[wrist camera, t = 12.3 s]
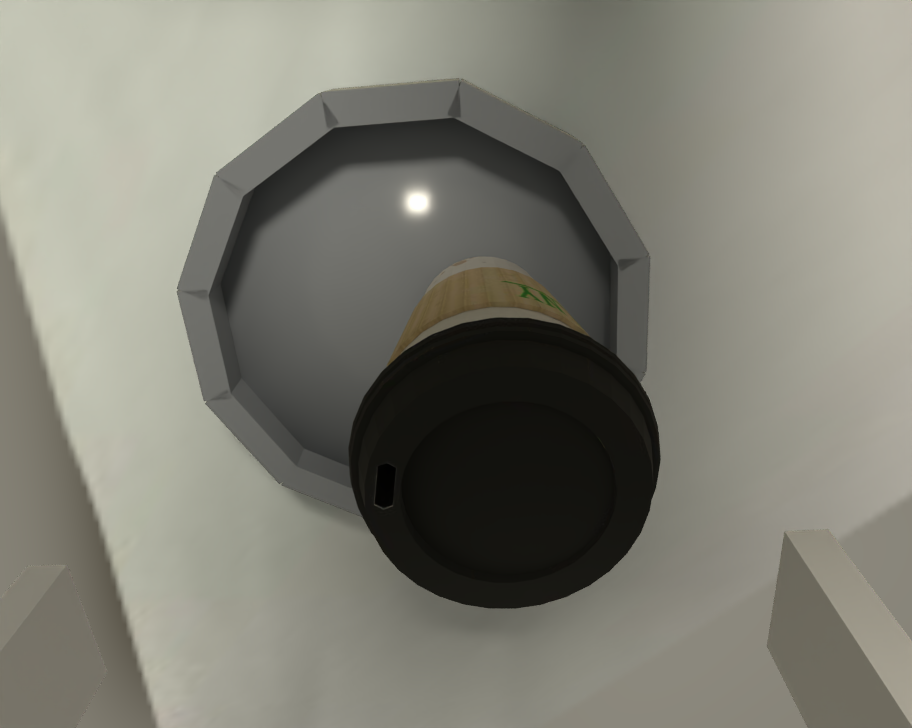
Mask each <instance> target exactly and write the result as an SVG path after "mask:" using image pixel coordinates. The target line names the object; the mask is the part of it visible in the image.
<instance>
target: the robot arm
mask: <svg viewBox="0 0 912 728" xmlns="http://www.w3.org/2000/svg"><path fill="white" fill-rule="evenodd" d="M767 647H768V649H769V651H770V653H771V655H772V657H773V659H774V661H775V663H776V665H777V667H778V669H779V671H780V673H781V675H782V677H783V679H784V681H785V683H786V685H787V687H788V689H789V691H790V693H791V695H792V697H793V699H794V701H795V703H796V705H797V707H798V709H799V711H800V713H801V715H802V717H803V719H804V721H805V723H806V725H807V727H808V728H912V641H911V640H910V638H909V637H908V636H907V634H906V633H905V631H904V630H903V629H902V627H901V626H900V625H899V623H898V622H897V621H896V619H895V618H894V617H893V615H892V614H891V613H890V611H889V610H888V609H887V607H886V606H885V605H884V603H883V602H882V601H881V599H880V598H879V597H878V595H877V594H876V593H875V591H874V590H873V589H872V587H871V586H870V585H869V583H868V582H867V581H866V579H865V578H864V577H863V575H862V574H861V573H860V571H859V570H858V569H857V567H856V566H855V564H854V563H853V562H852V561H851V559H850V558H849V557H848V555H847V554H846V552H845V551H844V550H843V548H842V547H841V546H840V544H839V543H838V542H837V540H836V539H835V538H834V536H833V535H832V534H831V532H830V531H829V530H828V529H825V530H803V531H785V532H784V539H783V545H782V552H781V558H780V565H779V571H778V578H777V584H776V591H775V597H774V603H773V610H772V617H771V623H770V629H769V636H768V642H767ZM106 674H107V670H106V667H105V664H104V662H103V659H102V656H101V654H100V651H99V648H98V646H97V643H96V640H95V637H94V635H93V632H92V630H91V627H90V624H89V621H88V619H87V616H86V613H85V611H84V608H83V605H82V603H81V600H80V597H79V595H78V592H77V589H76V587H75V584H74V582H73V579H72V576H71V573H70V571H69V568H68V565H67V564H65V565H41V566H27V567H26V568H25V569H24V571H23V572H22V573H21V574H20V575H19V576H18V578H17V579H16V580H15V581H14V583H13V584H12V585H11V586H10V587H9V588H8V590H7V591H6V592H5V593H4V594H3V595H2V597H1V598H0V728H76V726H77V725H78V723H79V721H80V720H81V717H82V716H83V714H84V713H85V711H86V709H87V707H88V705H89V704H90V702H91V700H92V699H93V697H94V695H95V693H96V692H97V689H98V688H99V686H100V684H101V683H102V681H103V679H104V677H105V676H106Z"/></svg>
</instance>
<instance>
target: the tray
mask: <svg viewBox="0 0 912 728" xmlns="http://www.w3.org/2000/svg"><path fill="white" fill-rule="evenodd" d="M479 256H481V257H496V258H500V259H505V260H507V261H509V262H512V263H514V264H516V265H518V266H519V267H521V268H522V269H524V270H525V271H526V272H527V273H528V274H529V275H530V276H531V277H532V278H533V279H534V280H535V281H537V282H538V283H539V284H541V285H542V286H544V287H545V288H546V289H547V290H548V291H549V292H550V293H551V295H552V296H553V297H554V298H555V299H556V300H557V301H558V302H559V303H560V304H561V305H562V306H563V307H564V309H565V310H566V311H567V312H568V313H569V314H570V315H571V316H572V317H573V318H574V319H575V321H576V322H577V323H578V324H579V325H580V326H581V327H582V328H583V329H584V330H585V331H586V333H587V334H588V335H589V336H590V337H591V338H593V339H594V340H596V341H597V342H599V343H600V344H602V345H603V346H604V347H606V348H607V349H609V350H610V351H612V352H613V353H615V354H616V355H617V356H618V357H619V358H620V359H621V361H622V362H623V363H624V364H625V365H626V366H627V367H628V368H629V369H630V370H631V371H632V372H633V373H634V374H635V376H636V377H637V379H638V381H639V382H641V380H642V379H643V377H644V376H645V372H646V366H647V335H648V304H649V273H650V256H649V253H648V251H647V249H646V248H645V246H644V244H643V243H642V241H641V239H640V238H639V236H638V234H637V232H636V231H635V229H634V227H633V226H632V224H631V222H630V221H629V219H628V217H627V216H626V214H625V212H624V210H623V209H622V207H621V205H620V204H619V202H618V200H617V199H616V197H615V195H614V194H613V192H612V190H611V188H610V187H609V185H608V183H607V182H606V180H605V178H604V177H603V175H602V173H601V172H600V170H599V168H598V166H597V165H596V163H595V161H594V160H593V158H592V156H591V155H590V153H589V151H588V149H587V148H586V146H585V145H584V144H583V143H582V142H580V141H579V140H578V139H576V138H575V137H574V136H572V135H570V134H568V133H566V132H564V131H562V130H560V129H558V128H556V127H555V126H553V125H551V124H549V123H547V122H545V121H543V120H541V119H539V118H537V117H535V116H533V115H531V114H529V113H527V112H525V111H523V110H522V109H520V108H518V107H516V106H514V105H512V104H510V103H508V102H506V101H504V100H502V99H500V98H498V97H496V96H494V95H492V94H490V93H489V92H487V91H485V90H483V89H481V88H479V87H477V86H475V85H473V84H471V83H469V82H467V81H465V80H463V79H462V80H461V82H460V84H459V78H456V79H444V80H432V81H420V82H408V83H397V84H385V85H373V86H361V87H349V88H338V89H331V90H327V91H323V92H321V93H318V94H317V95H315V96H314V97H313V98H311V99H310V100H309V101H308V102H306V103H305V104H304V105H302V106H301V107H300V108H299V109H297V110H296V111H295V112H293V113H292V114H291V115H290V116H288V117H287V118H286V119H284V120H283V121H282V122H281V123H279V124H278V125H277V126H276V127H274V128H273V129H272V130H270V131H269V132H268V133H267V134H265V135H264V136H263V137H261V138H260V139H259V140H258V141H256V142H255V143H254V144H252V145H251V146H250V147H249V148H247V149H246V150H245V151H243V152H242V153H241V154H240V155H238V156H237V157H236V158H234V159H233V160H232V161H231V162H229V163H228V164H227V165H225V166H224V167H223V168H222V169H220V170H219V171H218V172H216V175H214V177H213V180H212V184H211V187H210V190H209V193H208V196H207V199H206V202H205V205H204V208H203V211H202V214H201V217H200V220H199V223H198V226H197V229H196V232H195V235H194V238H193V241H192V244H191V247H190V250H189V253H188V256H187V259H186V262H185V265H184V268H183V271H182V274H181V278H180V281H179V284H178V287H177V289H178V291H177V295H178V299H179V303H180V307H181V311H182V315H183V319H184V323H185V327H186V331H187V335H188V339H189V343H190V347H191V351H192V355H193V359H194V363H195V367H196V371H197V375H198V379H199V384H200V388H201V392H202V396H203V400H204V401H207V402H206V403H205V404H206V405H207V406H208V407H209V408H210V409H211V410H212V411H213V412H214V414H215V415H216V416H217V417H218V418H219V419H220V420H221V421H222V422H223V423H224V424H225V425H226V427H227V428H228V429H229V430H230V431H231V432H232V433H233V434H234V435H235V436H236V437H237V438H238V440H239V441H240V442H241V443H242V444H243V445H244V446H245V447H246V448H247V449H248V450H249V451H250V453H251V454H252V455H253V456H254V457H255V458H256V459H257V460H258V461H259V462H260V463H261V464H262V466H263V467H264V468H265V469H266V470H267V471H268V472H269V473H270V474H271V475H272V476H273V477H274V479H275V480H276V481H277V482H278V483H279V484H280V483H282V482H283V483H282V486H285V487H287V488H290V489H292V490H295V491H297V492H300V493H302V494H305V495H307V496H310V497H313V498H315V499H318V500H320V501H323V502H325V503H328V504H330V505H333V506H336V507H338V508H341V509H343V510H346V511H348V512H351V513H353V514H356V515H358V516H361V517H362V515H361V513H360V511H359V509H358V507H357V503H356V500H355V496H354V493H353V489H352V486H351V481H350V473H349V453H348V447H349V441H350V436H351V430H352V425H353V420H354V418H355V416H356V413H357V411H358V409H359V406H360V404H361V402H362V399H363V397H364V395H365V394H366V392H367V391H368V390H369V388H370V387H371V385H372V384H373V383H374V381H375V380H376V378H377V377H378V376H379V374H380V373H381V372H382V371H383V370H384V369H385V368H386V366H387V364H388V362H389V360H390V358H391V356H392V354H393V352H394V350H395V348H396V346H397V343H398V341H399V339H400V337H401V335H402V333H403V331H404V329H405V327H406V325H407V323H408V321H409V319H410V317H411V315H412V313H413V311H414V309H415V307H416V306H417V304H418V303H419V302H420V300H421V299H422V297H423V296H424V295H425V292H426V290H427V288H428V287H429V285H430V284H431V283H432V281H433V280H434V278H436V277H437V276H438V275H439V274H440V273H441V272H442V271H443V270H444V269H446V268H448V267H449V266H451V265H452V264H454V263H456V262H459V261H462V260H464V259H467V258H473V257H479Z"/></svg>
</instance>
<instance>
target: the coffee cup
mask: <svg viewBox="0 0 912 728" xmlns="http://www.w3.org/2000/svg"><path fill="white" fill-rule="evenodd" d="M348 453H349V473H350V481H351V486H352V489H353V493H354V496H355V500H356V503H357V507H358V509H359V511H360V513H361V515H362V517H363V519H364V520H365V522H366V524H367V526H368V528H369V530H370V531H371V533H372V534H373V535H374V536H375V538H376V540H377V542H378V544H379V546H380V547H381V549H382V551H383V552H384V554H385V555H386V556H387V557H388V558H389V559H390V561H391V562H392V563H393V564H394V565H395V566H396V568H397V569H398V570H399V571H401V572H402V573H403V574H404V575H406V576H407V577H408V578H409V579H411V580H412V581H413V582H415V583H416V584H417V585H419V586H421V587H423V588H425V589H426V590H428V591H430V592H432V593H434V594H436V595H438V596H440V597H443V598H446V599H449V600H452V601H455V602H458V603H461V604H465V605H471V606H478V607H484V608H521V607H528V606H535V605H541V604H545V603H548V602H551V601H554V600H558V599H561V598H564V597H567V596H569V595H571V594H573V593H575V592H577V591H579V590H581V589H583V588H585V587H587V586H589V585H591V584H592V583H593V582H595V581H596V580H598V579H599V578H600V577H602V576H603V575H605V574H606V573H607V572H609V571H610V570H611V569H612V568H613V567H614V566H615V565H616V564H617V563H618V562H619V561H620V560H621V559H622V558H623V557H624V556H625V555H626V554H627V553H628V551H629V550H630V548H631V547H632V545H633V544H634V542H635V541H636V539H637V538H638V536H639V535H640V533H641V531H642V528H643V526H644V523H645V521H646V518H647V516H648V513H649V511H650V505H651V499H652V497H653V494H654V492H655V489H656V484H657V478H658V472H659V466H660V445H659V432H658V426H657V422H656V419H655V416H654V412H653V409H652V406H651V403H650V400H649V397H648V396H647V394H646V392H645V391H644V389H643V387H642V386H641V384H640V382H639V381H638V379H637V377H636V376H635V374H634V373H633V372H632V371H631V370H630V369H629V368H628V367H627V366H626V365H625V364H624V363H623V362H622V361H621V359H620V358H619V357H618V356H617V355H616V354H615V353H613V352H612V351H610V350H609V349H607V348H606V347H604V346H603V345H602V344H600V343H599V342H597V341H596V340H594V339H593V338H591V337H590V336H589V335H588V334H587V333H586V331H585V330H584V329H583V328H582V327H581V326H580V325H579V324H578V323H577V322H576V321H575V319H574V318H573V317H572V316H571V315H570V314H569V313H568V312H567V311H566V310H565V309H564V307H563V306H562V305H561V304H560V303H559V302H558V301H557V300H556V299H555V298H554V297H553V296H552V295H551V293H550V292H549V291H548V290H547V289H546V288H545V287H544V286H542V285H541V284H539V283H538V282H537V281H535V280H534V279H533V278H532V277H531V276H530V275H529V274H528V273H527V272H526V271H525V270H524V269H522V268H521V267H519V266H518V265H516V264H514V263H512V262H509V261H507V260H505V259H500V258H496V257H481V256H479V257H473V258H467V259H464V260H462V261H459V262H456V263H454V264H452V265H451V266H449V267H448V268H446V269H444V270H443V271H442V272H441V273H440V274H439V275H438V276H437V277H436V278H434V280H433V281H432V283H431V284H430V285H429V287H428V288H427V290H426V292H425V295H424V296H423V297H422V299H421V300H420V302H419V303H418V304H417V306H416V307H415V309H414V311H413V313H412V315H411V317H410V319H409V321H408V323H407V325H406V327H405V329H404V331H403V333H402V335H401V337H400V339H399V341H398V343H397V346H396V348H395V350H394V352H393V354H392V356H391V358H390V360H389V362H388V364H387V366H386V368H385V369H384V370H383V371H382V372H381V373H380V374H379V376H378V377H377V378H376V380H375V381H374V383H373V384H372V385H371V387H370V388H369V390H368V391H367V392H366V394H365V395H364V397H363V399H362V402H361V404H360V406H359V409H358V411H357V413H356V416H355V418H354V420H353V425H352V430H351V436H350V441H349V447H348Z"/></svg>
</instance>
